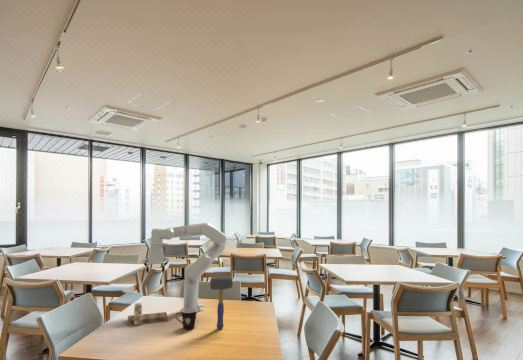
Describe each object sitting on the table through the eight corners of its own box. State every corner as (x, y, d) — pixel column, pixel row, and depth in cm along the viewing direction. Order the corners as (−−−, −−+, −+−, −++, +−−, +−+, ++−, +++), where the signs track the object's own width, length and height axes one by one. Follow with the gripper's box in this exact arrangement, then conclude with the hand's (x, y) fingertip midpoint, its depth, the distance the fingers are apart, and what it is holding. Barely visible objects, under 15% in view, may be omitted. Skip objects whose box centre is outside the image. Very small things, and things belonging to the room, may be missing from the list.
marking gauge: (140, 317, 207) (141, 301, 208) (141, 324, 194) (142, 307, 195) (133, 318, 206) (134, 302, 207) (134, 325, 193) (135, 308, 194)
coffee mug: (199, 327, 193) (199, 309, 194) (190, 331, 186) (190, 313, 186) (183, 324, 198) (184, 307, 199) (173, 328, 190) (174, 310, 191)
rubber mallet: (228, 325, 197) (229, 274, 200) (232, 329, 190) (233, 277, 193) (208, 327, 193) (209, 275, 195) (211, 332, 186) (212, 278, 188)
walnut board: (165, 316, 212) (166, 311, 213) (167, 320, 203) (167, 316, 203) (127, 319, 204) (127, 315, 204) (127, 325, 195) (128, 320, 195)
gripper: (168, 246, 230) (167, 270, 228) (142, 246, 223) (141, 272, 222) (170, 247, 223) (169, 272, 221) (143, 247, 216) (141, 274, 215)
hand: (155, 272), depth 221 cm, fingers open, 9 cm apart
